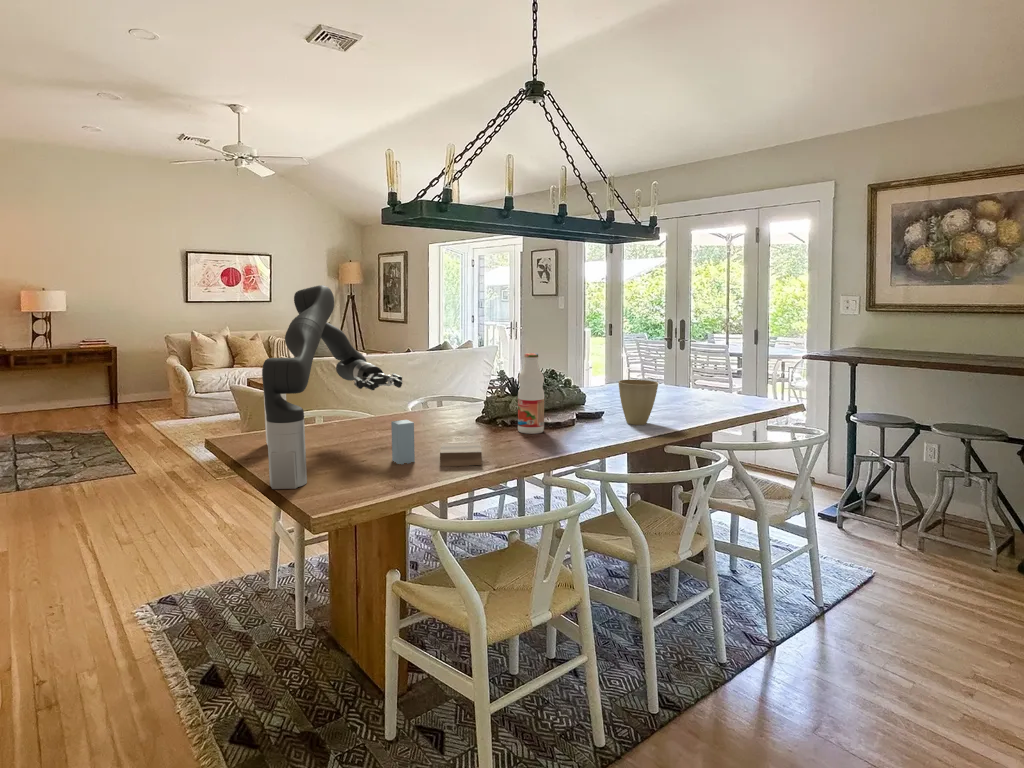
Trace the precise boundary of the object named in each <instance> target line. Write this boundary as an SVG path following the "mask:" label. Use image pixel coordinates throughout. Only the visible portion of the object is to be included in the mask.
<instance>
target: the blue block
mask: <svg viewBox="0 0 1024 768" xmlns="http://www.w3.org/2000/svg"><path fill="white" fill-rule="evenodd" d="M390 422H391V423H390V424H391V425H390V426H391V458H392V459H391V460H392V462H393V461H394V462H393V463H395V462H396V463H395V464H397V465H398V464H401V465H405V464H404V463H407V464H412V463H411V462H414V463H416V462H415V461H416V459H415V456H416V454H415V453H416V452H415V422H414V421H411V420H409V419H402V420H392V421H390Z"/></svg>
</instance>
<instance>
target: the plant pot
mask: <svg viewBox="0 0 1024 768" xmlns="http://www.w3.org/2000/svg"><path fill="white" fill-rule="evenodd" d="M658 387H659V382H658V381H654V380H650V379H649V380H647V379H620V380H618V391H619V398H620V404H621V407H622V412H623V414H624V415H623V416H624V418H625V421H626V424H628V425H634V426H643V425H644V426H645V425H647V423H648V420H649V418H650V416H651V413H652V411H653V407H654V405H655V401H656V397H657V391H658Z"/></svg>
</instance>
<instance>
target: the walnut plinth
mask: <svg viewBox="0 0 1024 768" xmlns="http://www.w3.org/2000/svg"><path fill="white" fill-rule="evenodd" d="M482 456H483V454H482V445H481V442H441V443H440V449H439V466H440V467H470V466H469V465H482V466H483V464H482V463H483V462H482Z"/></svg>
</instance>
